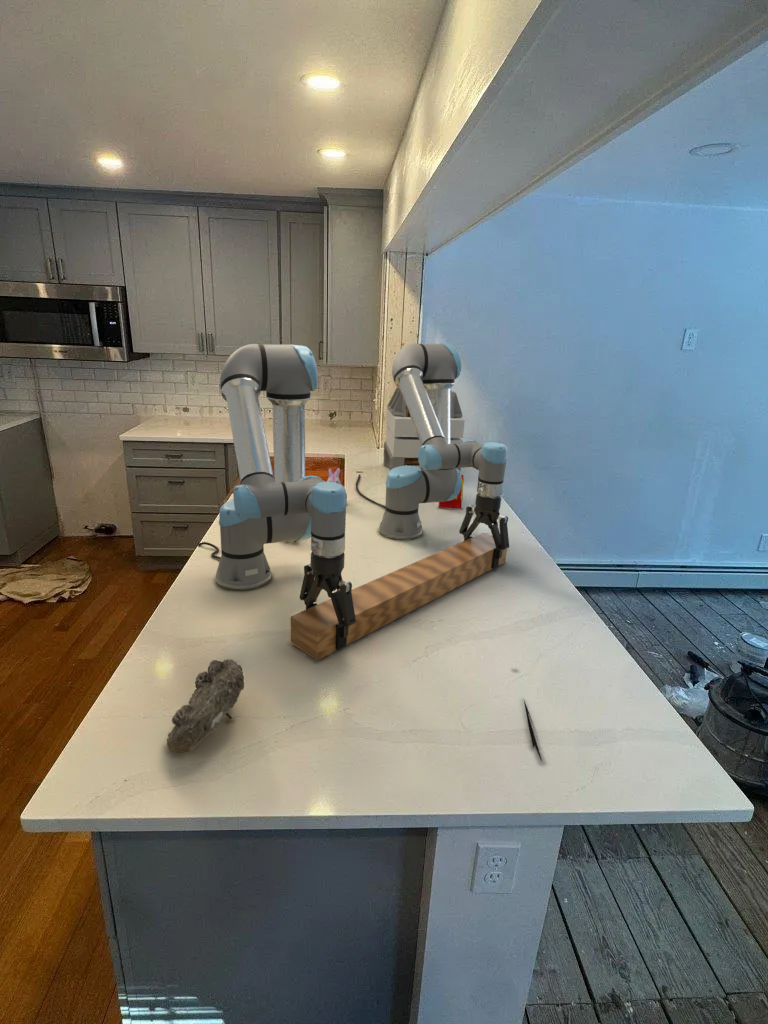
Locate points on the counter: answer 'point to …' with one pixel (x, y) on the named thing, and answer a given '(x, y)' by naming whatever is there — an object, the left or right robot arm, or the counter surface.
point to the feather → (532, 731)
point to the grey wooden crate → (412, 431)
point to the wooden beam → (394, 595)
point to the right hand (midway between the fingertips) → (480, 561)
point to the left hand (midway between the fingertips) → (326, 637)
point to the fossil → (206, 705)
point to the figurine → (334, 477)
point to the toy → (454, 500)
